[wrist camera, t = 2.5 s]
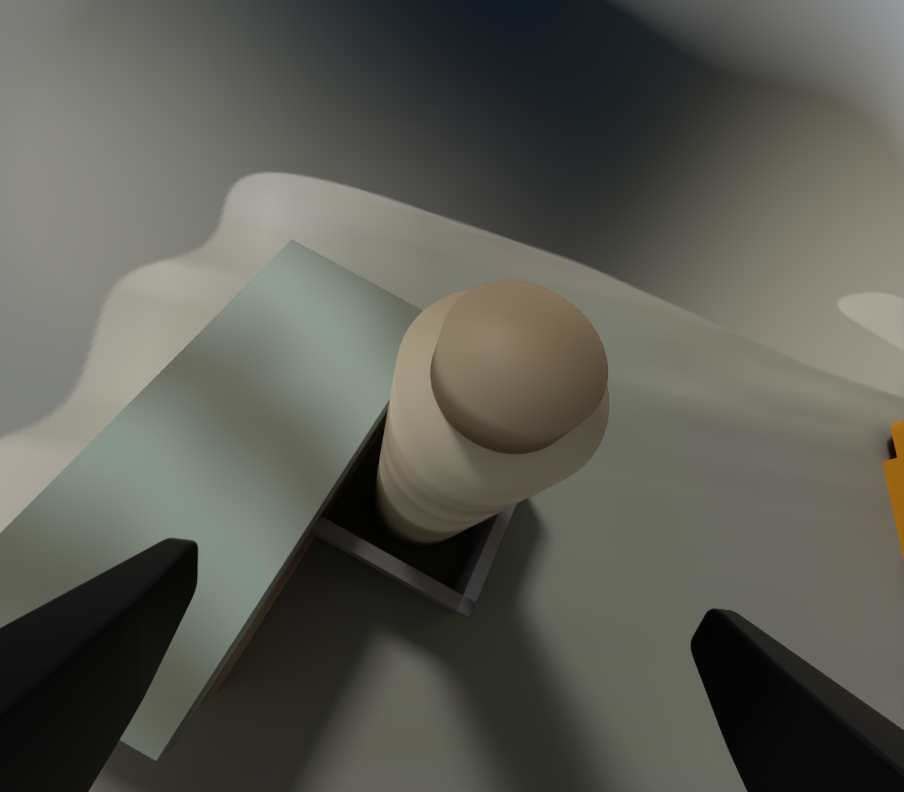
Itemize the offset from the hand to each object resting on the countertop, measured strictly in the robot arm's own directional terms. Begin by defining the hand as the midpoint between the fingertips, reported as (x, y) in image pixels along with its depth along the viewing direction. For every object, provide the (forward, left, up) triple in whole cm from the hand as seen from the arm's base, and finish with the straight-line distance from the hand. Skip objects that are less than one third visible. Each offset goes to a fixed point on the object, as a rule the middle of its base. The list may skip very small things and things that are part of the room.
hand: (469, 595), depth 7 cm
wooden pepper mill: (+3, +1, -11) cm, 11 cm away
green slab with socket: (+1, +4, -11) cm, 12 cm away
